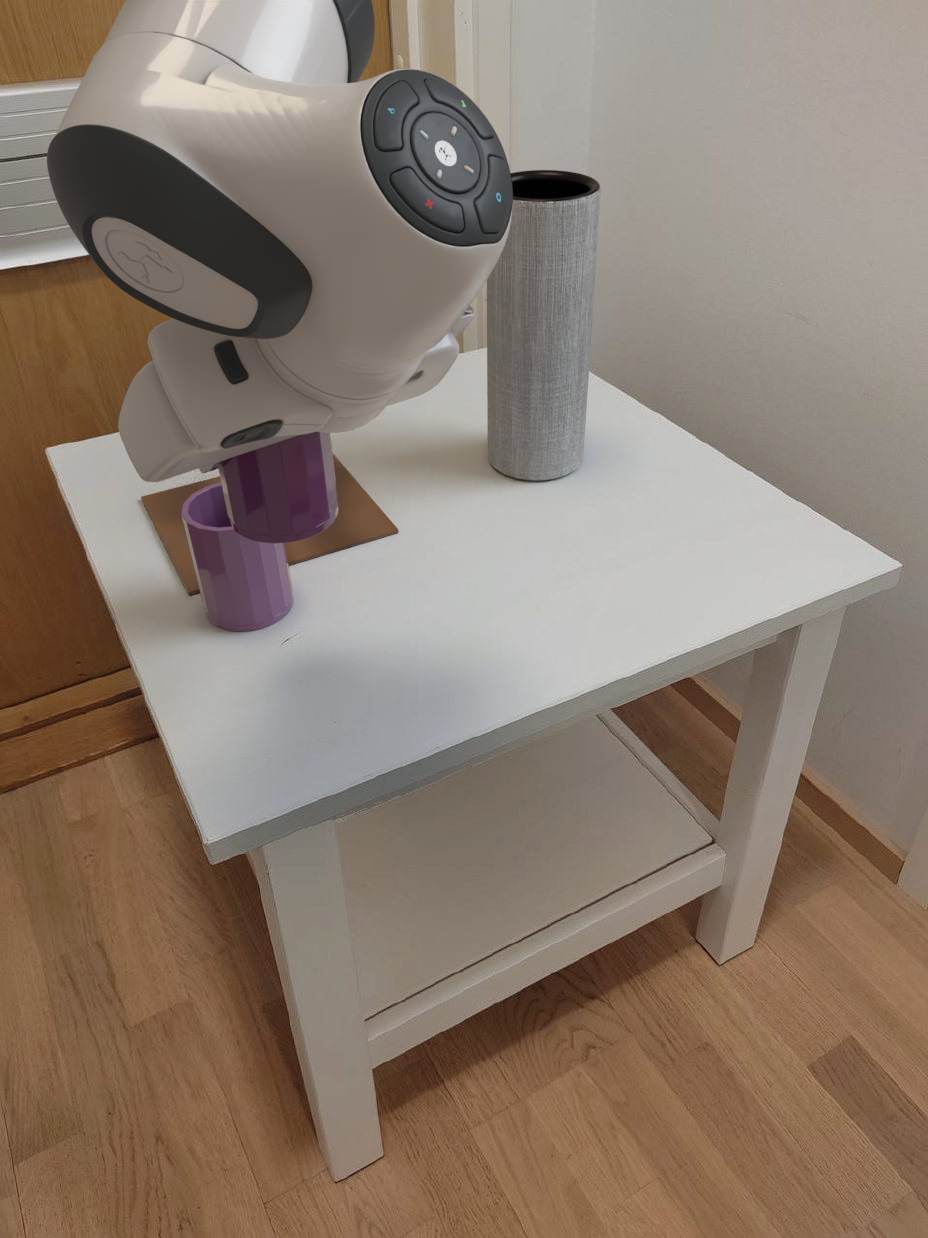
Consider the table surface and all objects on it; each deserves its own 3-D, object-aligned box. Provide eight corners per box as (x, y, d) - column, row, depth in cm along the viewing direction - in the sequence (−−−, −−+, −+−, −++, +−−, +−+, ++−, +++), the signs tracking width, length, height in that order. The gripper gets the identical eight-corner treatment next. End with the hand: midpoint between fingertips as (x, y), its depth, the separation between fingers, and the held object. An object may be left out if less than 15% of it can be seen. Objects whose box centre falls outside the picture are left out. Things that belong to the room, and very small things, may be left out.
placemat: (189, 595, 83) (188, 592, 82) (141, 499, 95) (140, 496, 95) (398, 532, 90) (398, 529, 89) (328, 451, 102) (328, 447, 102)
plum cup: (210, 535, 64) (180, 396, 57) (258, 479, 69) (235, 348, 63) (313, 550, 62) (294, 409, 56) (353, 492, 68) (340, 358, 61)
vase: (547, 427, 105) (557, 163, 89) (602, 465, 99) (624, 187, 82) (470, 451, 102) (465, 180, 85) (521, 492, 95) (527, 207, 78)
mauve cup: (190, 624, 80) (164, 523, 73) (230, 573, 85) (208, 475, 79) (271, 637, 78) (252, 536, 72) (306, 585, 84) (291, 486, 77)
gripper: (461, 248, 55) (382, 355, 67) (117, 335, 46) (98, 441, 58) (508, 347, 55) (420, 436, 67) (173, 454, 46) (142, 534, 58)
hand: (268, 439), depth 63 cm, fingers closed on plum cup, 7 cm apart
